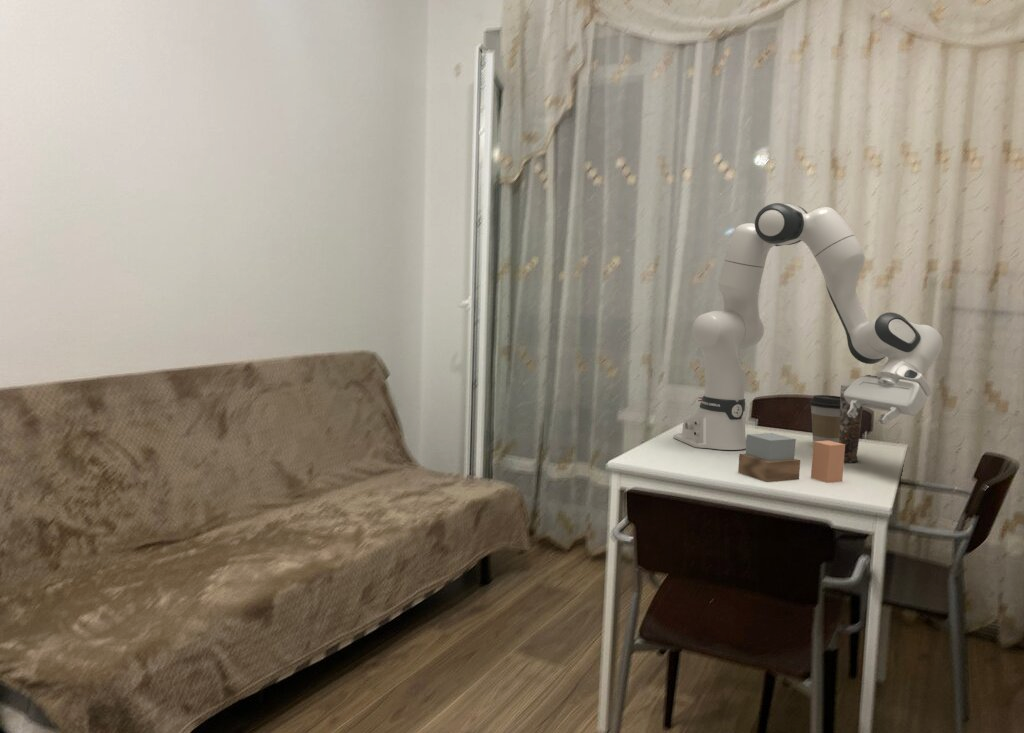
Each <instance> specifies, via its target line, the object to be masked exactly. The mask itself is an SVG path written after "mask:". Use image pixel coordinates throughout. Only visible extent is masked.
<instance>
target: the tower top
mask: <svg viewBox="0 0 1024 733" xmlns="http://www.w3.org/2000/svg"><path fill="white" fill-rule="evenodd" d="M796 441H797V439H796V438H793V437H788V436H785V435H782V434H776V433H773V432H767V433H765V432H764V433H749V434H746V448H745V453H746V454H745V455H749V456H752V457H756V458H759V459H762V460H766V461H782V460H794V458H795V455H796Z"/></svg>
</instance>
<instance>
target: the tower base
mask: <svg viewBox="0 0 1024 733" xmlns="http://www.w3.org/2000/svg"><path fill="white" fill-rule="evenodd" d="M745 454H746V452H745V453H739V455H738V457H739V458H738V468H737V472H738V474H741V475H745V476H747V477H750V478H753V479H757V480H760V481H762V482H766V483H773V482H786V481H796V480H799V479H800V470H801V459H799V458H798V459H797V458H795V457H794V460H782V461H766V460H762V459H759V458H756V457H752V456H749V455H745Z"/></svg>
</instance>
